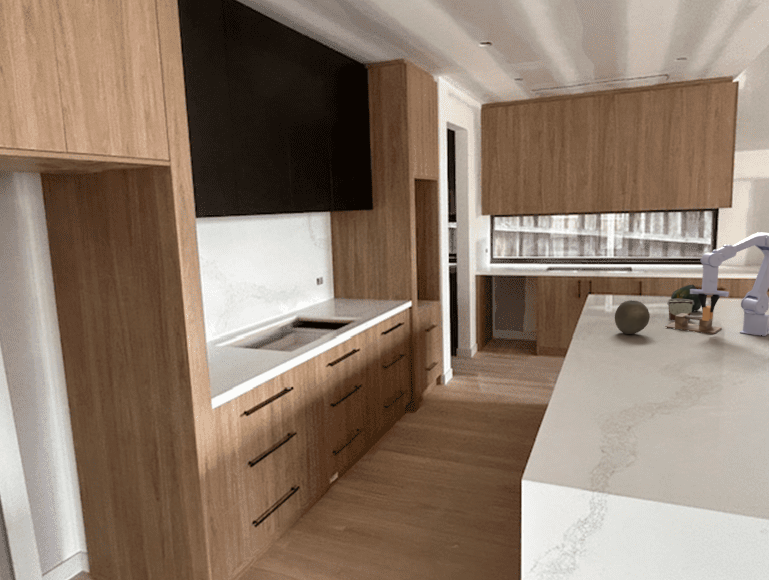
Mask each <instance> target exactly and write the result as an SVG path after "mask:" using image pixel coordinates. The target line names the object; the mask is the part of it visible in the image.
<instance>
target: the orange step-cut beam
mask: <svg viewBox="0 0 769 580" xmlns="http://www.w3.org/2000/svg"><path fill="white" fill-rule="evenodd" d="M710 308H711V305H706V307H704V308H703V311H702V316H701V317H702V320H704V321H709V319H712V320H713V317H714V311H713V312H710Z"/></svg>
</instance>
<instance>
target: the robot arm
mask: <svg viewBox="0 0 769 580" xmlns="http://www.w3.org/2000/svg"><path fill="white" fill-rule="evenodd" d="M754 246H755V247H756V248H757V249H759V250H760V251H761V252H762V253H763V259H762V262H761V265H760V267H759V270H758V273H757V275H756V278H755V281H754V284H753V285H752V289H751V290H749V291H748V292H746V294H745V296H744V297H743V298H742V299H741V302H740V307H741V309H742V310H743V325H742V330H740V331H739V333H740V334H746V335H753V336H761V335H762V336H761V337H766V336H768V334H769V314H766V312H768V311H769V295H768V294H767V293H768V291H769V232H764V231H758V232H756V233H752V234H751V235H750V236H748V237H746V238H744V239H742V240H740V241H739V242H736V243H735V244H733V245H732V244H723V245H722V246H721V247H720V248H717V249H713V250H712V251H711V252H704V254H702V256H701V258H700V259H699V260H700V263H701V264H702V280H701V281H702V282H701V289H700V288H698V289H697V288H696V289H690V294H699V295H698V298H699V300H700V303H701V310H702V312H703V308H704V307H706V306H707V297H708V296H710V306H711V308H710V312H713V313H714V310H715V307H716V305H717V303H718V301H719V299H720V298H721V297H724V298H728V297H730V291H723V290H718V280H719V279H718V278H719V267H720V266H721V265H722V263H723V262H725V261H728V260H730V259H732V258H734V257H736V256H737V253H739V252H740V251H741V252H742V251H744V250H746V249H749V248H751V247H754Z"/></svg>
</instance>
